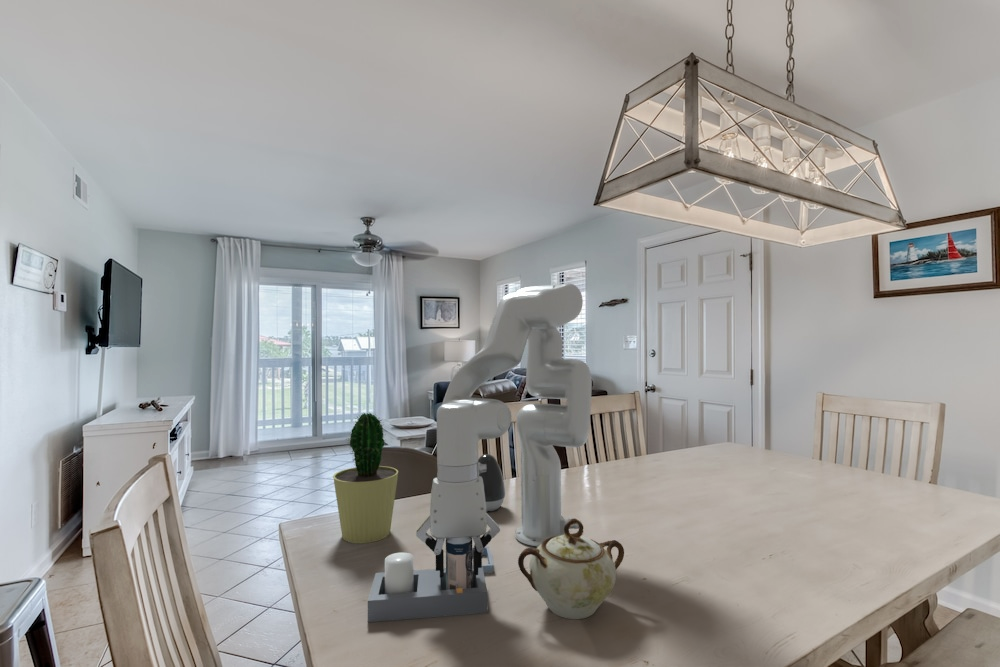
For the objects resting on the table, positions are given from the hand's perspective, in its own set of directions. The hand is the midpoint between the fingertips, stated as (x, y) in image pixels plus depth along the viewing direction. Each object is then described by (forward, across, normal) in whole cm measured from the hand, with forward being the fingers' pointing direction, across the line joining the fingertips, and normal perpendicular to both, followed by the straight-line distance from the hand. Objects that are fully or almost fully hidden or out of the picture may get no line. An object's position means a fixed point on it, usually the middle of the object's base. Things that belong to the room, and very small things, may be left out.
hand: (458, 571), depth 87 cm
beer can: (+5, 0, 0) cm, 5 cm away
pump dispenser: (+5, -10, -48) cm, 49 cm away
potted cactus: (+5, +21, -34) cm, 40 cm away
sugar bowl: (+5, -20, +5) cm, 21 cm away
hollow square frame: (+5, -3, -14) cm, 15 cm away
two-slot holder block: (+5, +5, 0) cm, 7 cm away
